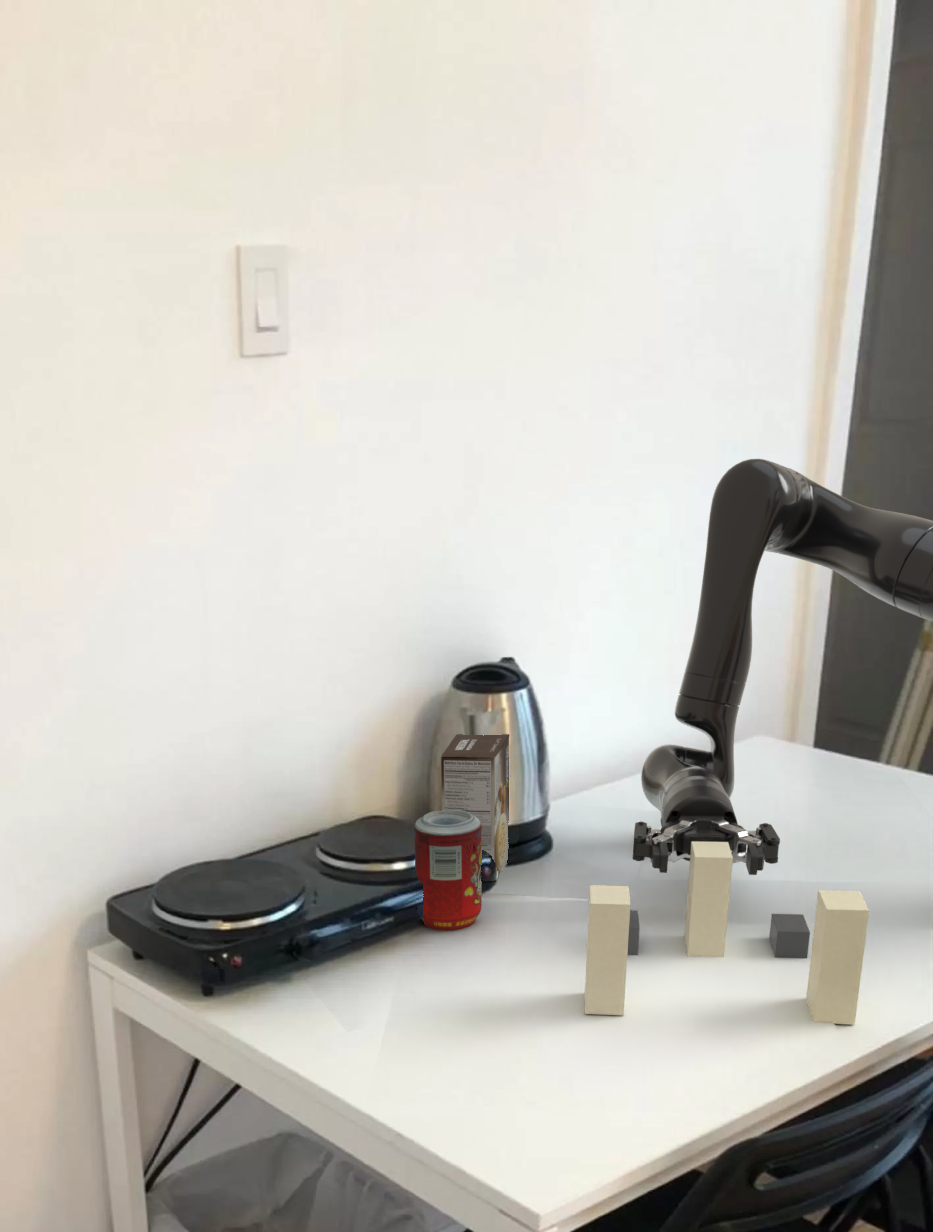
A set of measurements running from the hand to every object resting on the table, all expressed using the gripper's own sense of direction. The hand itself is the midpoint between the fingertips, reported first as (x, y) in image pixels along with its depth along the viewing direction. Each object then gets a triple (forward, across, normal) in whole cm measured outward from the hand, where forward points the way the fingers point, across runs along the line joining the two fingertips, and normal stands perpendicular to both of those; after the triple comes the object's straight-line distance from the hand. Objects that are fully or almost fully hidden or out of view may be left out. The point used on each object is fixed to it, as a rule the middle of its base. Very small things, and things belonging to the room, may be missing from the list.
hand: (709, 864), depth 149 cm
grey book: (+1, -8, +9) cm, 12 cm away
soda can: (-5, -26, +9) cm, 28 cm away
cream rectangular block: (+15, -10, +9) cm, 20 cm away
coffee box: (-21, -24, +9) cm, 33 cm away
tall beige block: (+1, 0, +9) cm, 9 cm away
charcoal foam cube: (+1, +8, +9) cm, 12 cm away
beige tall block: (+15, +10, +9) cm, 20 cm away
